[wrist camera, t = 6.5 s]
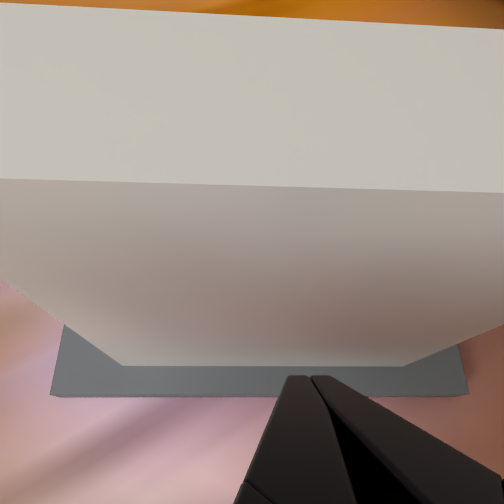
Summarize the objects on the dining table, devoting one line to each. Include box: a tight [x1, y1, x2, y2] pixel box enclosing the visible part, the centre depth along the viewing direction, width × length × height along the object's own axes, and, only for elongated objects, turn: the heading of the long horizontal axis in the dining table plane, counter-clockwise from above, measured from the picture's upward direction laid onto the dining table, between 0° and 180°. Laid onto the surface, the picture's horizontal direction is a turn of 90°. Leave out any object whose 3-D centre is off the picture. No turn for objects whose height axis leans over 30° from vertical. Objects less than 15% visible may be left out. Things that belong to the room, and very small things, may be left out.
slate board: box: [50, 325, 469, 397], centre depth 19 cm, size 18×16×1 cm
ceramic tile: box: [0, 3, 504, 367], centre depth 11 cm, size 3×11×12 cm, turn 91°
